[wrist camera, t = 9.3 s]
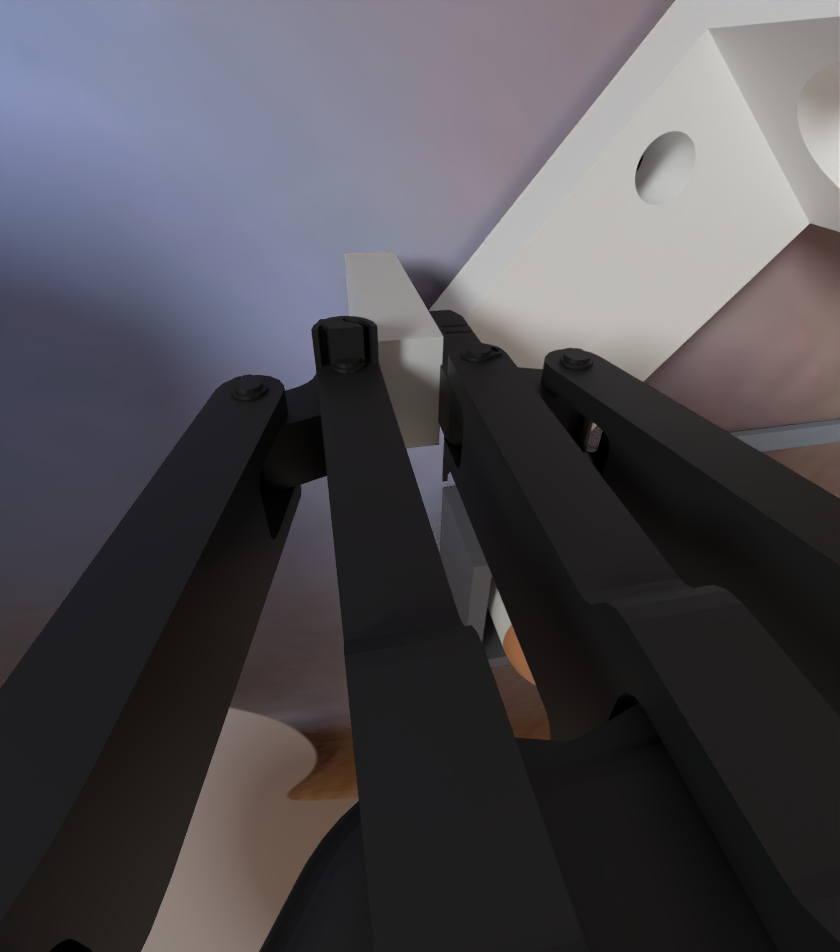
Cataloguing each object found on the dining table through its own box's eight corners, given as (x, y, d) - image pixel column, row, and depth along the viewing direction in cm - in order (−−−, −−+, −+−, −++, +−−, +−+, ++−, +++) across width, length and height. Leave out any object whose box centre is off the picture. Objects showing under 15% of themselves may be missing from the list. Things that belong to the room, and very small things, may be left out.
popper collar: (437, 592, 29) (462, 673, 25) (443, 487, 24) (473, 567, 20) (564, 572, 30) (606, 645, 26) (593, 468, 25) (648, 539, 22)
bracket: (704, -58, 14) (996, -146, 8) (797, 135, 18) (1044, 167, 12) (410, 316, 19) (468, 425, 13) (532, 408, 23) (618, 524, 17)
